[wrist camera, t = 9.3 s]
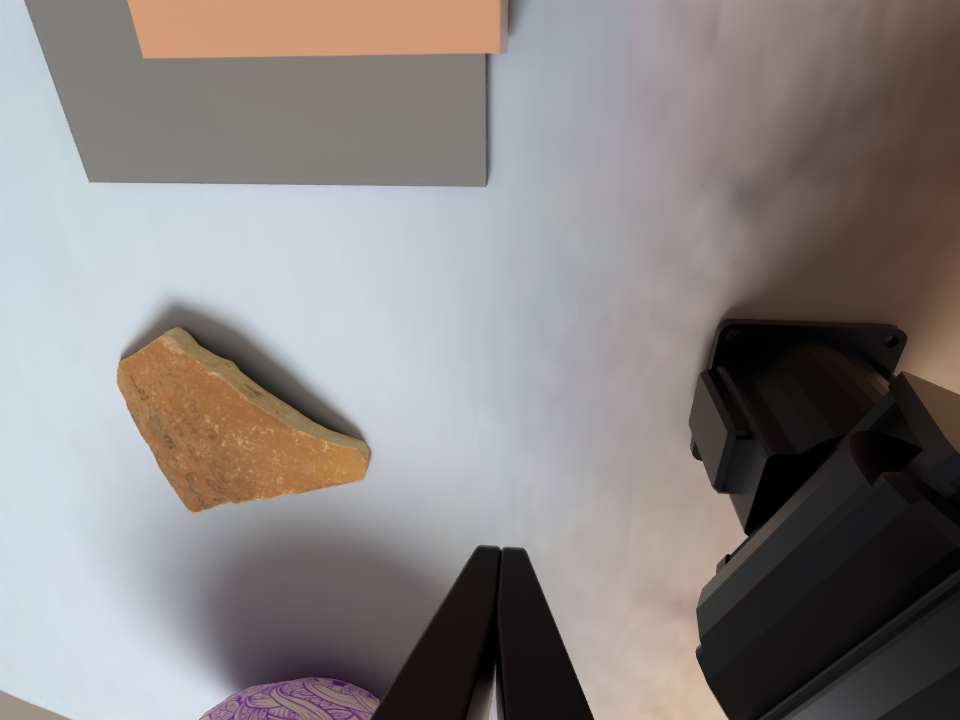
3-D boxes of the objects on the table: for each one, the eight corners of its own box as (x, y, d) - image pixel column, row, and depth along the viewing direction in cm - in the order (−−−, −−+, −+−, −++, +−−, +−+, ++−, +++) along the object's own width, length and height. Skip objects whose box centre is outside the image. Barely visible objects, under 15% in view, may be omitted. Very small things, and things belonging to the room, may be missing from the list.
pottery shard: (385, 457, 26) (371, 493, 24) (253, 516, 30) (230, 553, 27) (238, 282, 23) (205, 306, 20) (104, 371, 26) (63, 401, 24)
